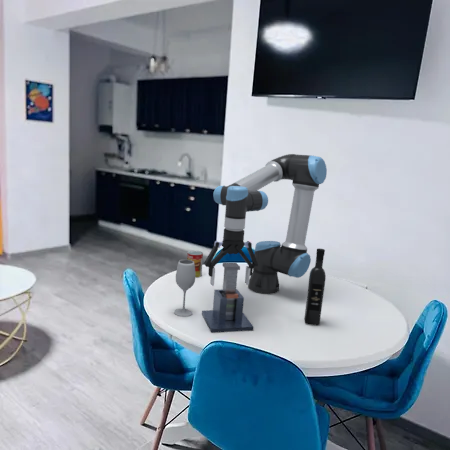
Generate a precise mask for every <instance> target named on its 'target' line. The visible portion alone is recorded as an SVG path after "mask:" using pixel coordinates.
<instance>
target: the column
mask: <svg viewBox="0 0 450 450" xmlns="http://www.w3.org/2000/svg"><path fill="white" fill-rule="evenodd" d="M222 267H223V268H224V269H223V279H222V280H223V281H222V283H223V284H222V289H223V292H222V296H223V297H226V294H236V289H237V285H238V283H237V281H238V271H240V269H241V266H240V265H239V264H238V263H237V262H222ZM235 300H236V298H227V306H226V318H225V320H234V314H235V311H234V308H235Z"/></svg>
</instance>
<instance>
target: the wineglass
mask: <svg viewBox="0 0 450 450" xmlns="http://www.w3.org/2000/svg"><path fill="white" fill-rule="evenodd" d="M175 272H176V273H175V283H176V285H177V287H178V288H179V289H181V290H182V291H183V292H182V293H183V297H182V298H183V300H182V308H177V309H175V310H174V311H173V313H174V315H175V316H177V317H190V316H192V315H193V311H192V310H191V309H189V308H186V306H185V305H186V293H187V291H188V290H189V289H191V288H192V287H193V286H194V284H195V281H196V278H195V265H194V261H192V260H187V259H179V261H178V263H177V267H176V271H175Z"/></svg>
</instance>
